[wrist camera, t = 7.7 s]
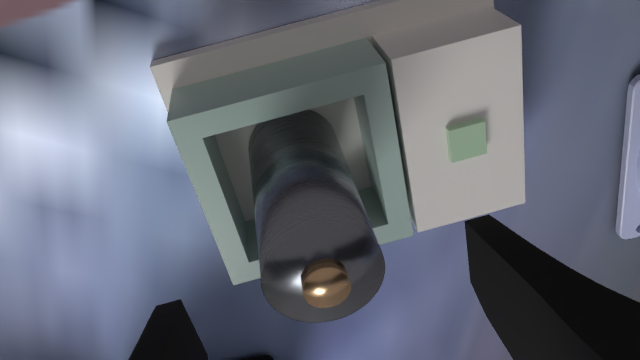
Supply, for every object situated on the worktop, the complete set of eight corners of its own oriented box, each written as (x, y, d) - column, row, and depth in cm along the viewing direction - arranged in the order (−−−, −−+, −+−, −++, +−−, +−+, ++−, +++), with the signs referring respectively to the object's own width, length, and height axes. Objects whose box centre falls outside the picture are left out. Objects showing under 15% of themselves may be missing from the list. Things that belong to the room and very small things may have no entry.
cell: (326, 96, 20) (379, 222, 13) (344, 173, 21) (398, 317, 15) (237, 121, 19) (246, 259, 13) (261, 195, 21) (280, 349, 15)
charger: (484, -29, 19) (532, -5, 16) (496, 179, 23) (534, 225, 21) (151, 60, 19) (140, 100, 16) (228, 253, 23) (230, 310, 20)
